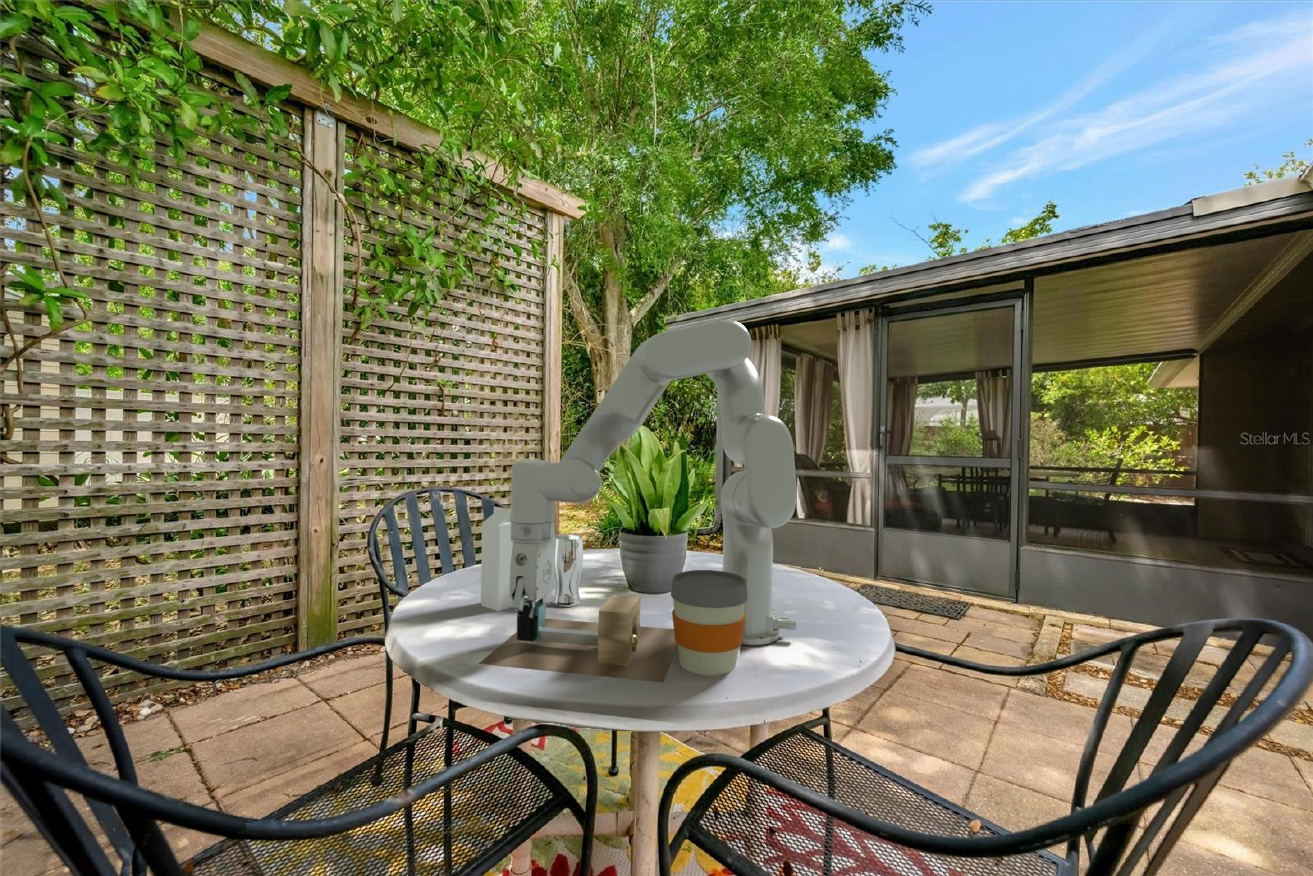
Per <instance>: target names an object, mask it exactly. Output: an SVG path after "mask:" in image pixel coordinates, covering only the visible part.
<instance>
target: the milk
mask: <svg viewBox="0 0 1313 876" xmlns="http://www.w3.org/2000/svg"><path fill="white" fill-rule="evenodd" d="M510 535H511V508H505V507H499V506H494V507H493V513H492V514H491V515H490V516H488V518H486V519H485V520H484V521H482V523H481V562H480V563H481V567H480V569H481V571H480V572H481V575H480V606H481V607H484V608H488V609H490V610H493V611H497V612H500V611H503V610H507V609H510V608H513V602H514V600H512V599H511V597H510V567H511V555H512V547H513V541H511V540H510V537H511V536H510Z"/></svg>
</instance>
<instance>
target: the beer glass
mask: <svg viewBox="0 0 1313 876" xmlns="http://www.w3.org/2000/svg"><path fill="white" fill-rule="evenodd" d="M554 536H555V537H554V540H553V541H554V551H555V576H556V584H555V587H554V595H553V600H552V605H554V606H556V607H559V608H571V607H576V606H579V605H580V604H581V597H580V579H581V574H582V569H583V564H584V563H583V562H584V544H583V543H584V541H583V536H582V535H581V534H575V533H566V534H564V533H562V534H556V535H554Z"/></svg>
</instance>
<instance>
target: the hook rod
mask: <svg viewBox="0 0 1313 876" xmlns="http://www.w3.org/2000/svg"><path fill="white" fill-rule="evenodd" d="M524 604H525V605H528V607H529V605H530V603H524ZM546 605H547V603H546V601H545V602H535V614H534V617H536V639H535V640H534V641H528V642H539V641H544V642H556V643H567V644H579V645H590V646H598V632H597V631H585V630H573V629H561V628H549V627H545V618H546ZM517 629H518V618H517V617H516V630H517ZM517 641H526V640H518V638H517ZM637 643H638V637H637V636H636V635H635V634H632V647H635V646H636V645H637Z"/></svg>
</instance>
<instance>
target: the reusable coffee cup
mask: <svg viewBox="0 0 1313 876" xmlns="http://www.w3.org/2000/svg"><path fill="white" fill-rule="evenodd" d="M670 597H671V598H672V600H673V602H672V603H673V609H672V612H671V614H672V624H673V629H674V636H675V641H676V643H677V649H678V658H679V659H678V660H679V664H680V666H681V667H682V669H684V670H686V671H688V672H690V673H693V674H697V675H702V676H721V675H725V674H730V673H731V672H733V671H734V670H735V669H736V667H737V659H738V652H739V648H740V647H741V646H742V638H743V631H744V624H745V618H746V615H745V613H744V607H745V602H746V601H747V600H748V594H747V583H746V579H745V578H743V577H742V576H739V575H737V574H733V573H729V572H724V571H723V570H713V569H712V570H711V569H696V570H695V569H694V570H686V571H682V572H678V573H676V574H674V575H673V577H672V584H671V591H670Z"/></svg>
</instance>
